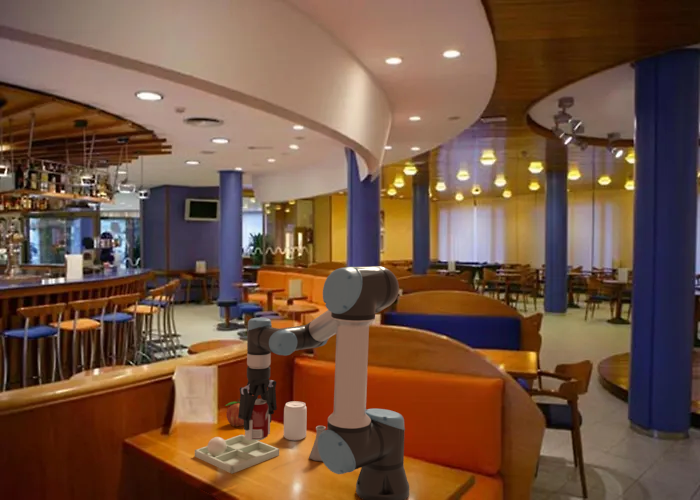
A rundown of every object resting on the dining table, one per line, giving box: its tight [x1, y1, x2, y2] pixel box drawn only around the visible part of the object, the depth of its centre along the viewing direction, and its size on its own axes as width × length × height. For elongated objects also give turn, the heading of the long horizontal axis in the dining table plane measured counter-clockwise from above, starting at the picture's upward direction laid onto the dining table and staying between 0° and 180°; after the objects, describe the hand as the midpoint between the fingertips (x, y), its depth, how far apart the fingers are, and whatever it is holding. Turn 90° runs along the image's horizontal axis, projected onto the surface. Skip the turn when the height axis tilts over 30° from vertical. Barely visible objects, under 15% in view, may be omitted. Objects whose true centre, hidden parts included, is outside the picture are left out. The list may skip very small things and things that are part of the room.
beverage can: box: [283, 400, 308, 441], centre depth 199 cm, size 8×8×12 cm
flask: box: [308, 425, 327, 462], centre depth 182 cm, size 7×7×10 cm
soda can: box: [251, 398, 269, 441], centre depth 180 cm, size 7×7×12 cm
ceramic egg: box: [206, 436, 226, 457], centre depth 179 cm, size 6×6×6 cm
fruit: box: [224, 398, 244, 427], centre depth 211 cm, size 9×10×10 cm
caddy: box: [194, 434, 280, 475], centre depth 179 cm, size 19×19×3 cm
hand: (257, 436), depth 180 cm, fingers closed on soda can, 7 cm apart
